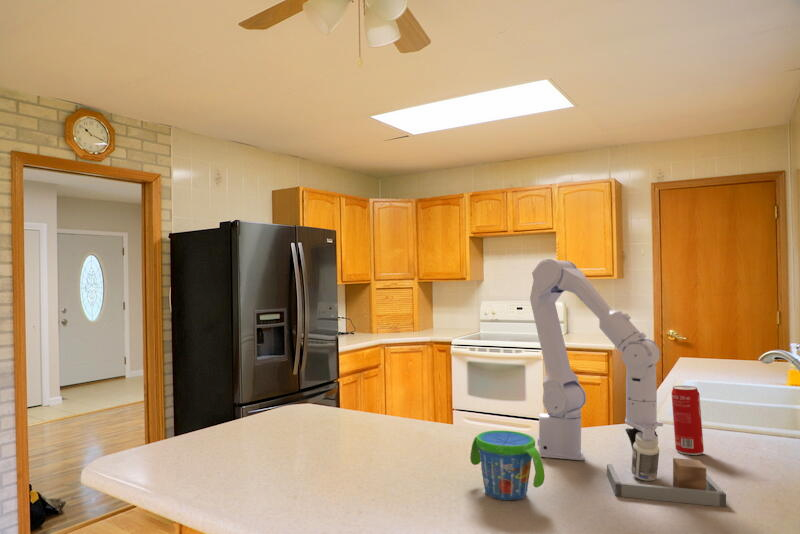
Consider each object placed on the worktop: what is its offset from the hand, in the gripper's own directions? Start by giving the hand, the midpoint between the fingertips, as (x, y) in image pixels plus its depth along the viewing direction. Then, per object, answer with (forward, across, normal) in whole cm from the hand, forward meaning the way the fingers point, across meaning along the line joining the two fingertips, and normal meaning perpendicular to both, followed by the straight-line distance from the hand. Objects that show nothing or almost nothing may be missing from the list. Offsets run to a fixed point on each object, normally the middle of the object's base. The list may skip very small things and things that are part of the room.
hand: (641, 465), depth 109 cm
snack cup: (+2, -18, +27) cm, 33 cm away
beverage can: (+2, +18, -14) cm, 23 cm away
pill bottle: (+1, -2, 0) cm, 3 cm away
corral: (+2, -9, -2) cm, 9 cm away
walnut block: (+2, -9, -7) cm, 11 cm away
